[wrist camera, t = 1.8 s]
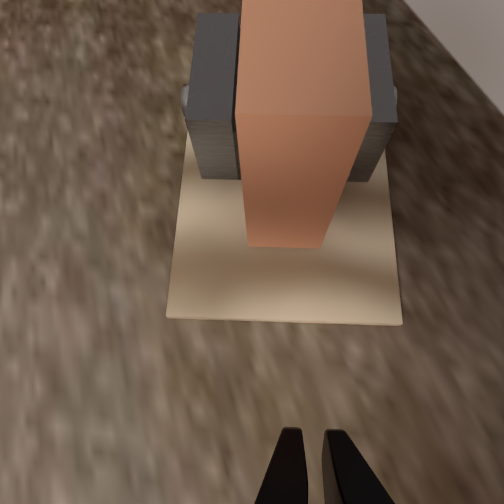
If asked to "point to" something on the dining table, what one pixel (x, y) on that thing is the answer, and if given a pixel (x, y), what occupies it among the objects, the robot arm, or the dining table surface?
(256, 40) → the peg post
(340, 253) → the base board
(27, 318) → the dining table surface
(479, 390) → the dining table surface
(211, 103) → the band block
